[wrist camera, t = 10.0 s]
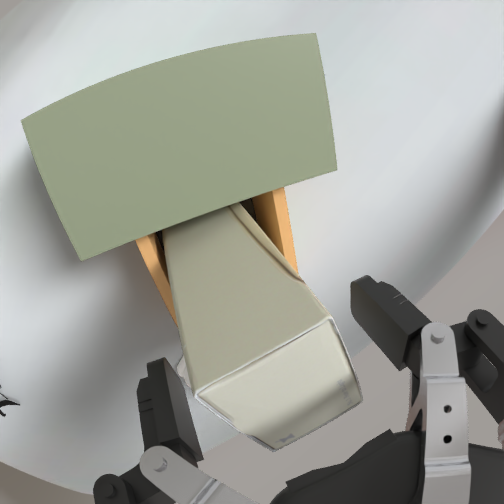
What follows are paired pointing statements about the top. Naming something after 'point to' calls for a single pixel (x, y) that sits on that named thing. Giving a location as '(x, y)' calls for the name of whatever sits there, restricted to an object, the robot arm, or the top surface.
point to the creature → (6, 402)
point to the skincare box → (254, 331)
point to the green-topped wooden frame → (186, 145)
